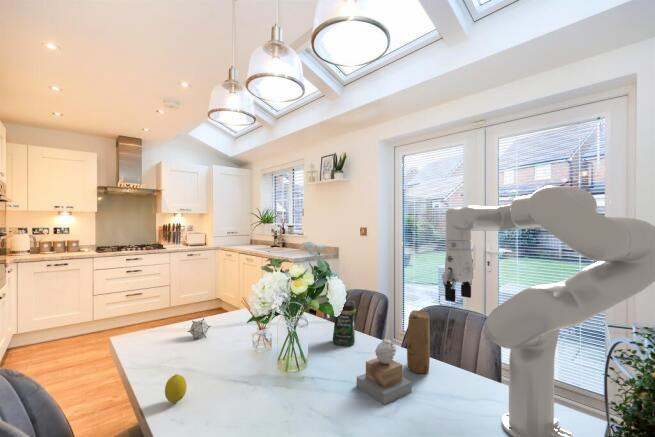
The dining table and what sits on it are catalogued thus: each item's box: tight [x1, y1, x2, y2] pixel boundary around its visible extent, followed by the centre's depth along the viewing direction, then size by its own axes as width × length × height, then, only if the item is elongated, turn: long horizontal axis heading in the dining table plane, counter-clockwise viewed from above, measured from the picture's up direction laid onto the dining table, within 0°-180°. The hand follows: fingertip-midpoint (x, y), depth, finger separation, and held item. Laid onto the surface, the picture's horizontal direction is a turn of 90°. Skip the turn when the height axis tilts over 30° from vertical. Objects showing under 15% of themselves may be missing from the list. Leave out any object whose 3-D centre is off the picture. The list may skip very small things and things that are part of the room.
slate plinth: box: [356, 373, 413, 405], centre depth 97 cm, size 12×12×3 cm
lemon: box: [164, 373, 187, 404], centre depth 88 cm, size 6×6×8 cm
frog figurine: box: [375, 338, 397, 364], centre depth 97 cm, size 6×7×7 cm
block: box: [406, 309, 431, 374], centre depth 112 cm, size 11×8×20 cm
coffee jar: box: [332, 299, 357, 347], centre depth 134 cm, size 10×8×19 cm
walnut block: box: [365, 357, 404, 389], centre depth 97 cm, size 8×8×5 cm
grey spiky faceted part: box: [187, 317, 212, 341], centre depth 137 cm, size 9×8×10 cm
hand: (458, 299), depth 100 cm, fingers open, 9 cm apart
